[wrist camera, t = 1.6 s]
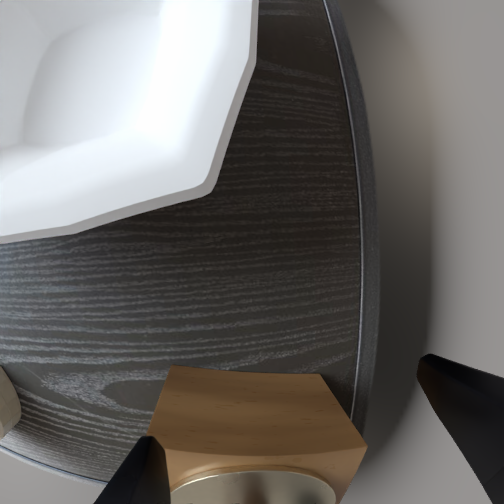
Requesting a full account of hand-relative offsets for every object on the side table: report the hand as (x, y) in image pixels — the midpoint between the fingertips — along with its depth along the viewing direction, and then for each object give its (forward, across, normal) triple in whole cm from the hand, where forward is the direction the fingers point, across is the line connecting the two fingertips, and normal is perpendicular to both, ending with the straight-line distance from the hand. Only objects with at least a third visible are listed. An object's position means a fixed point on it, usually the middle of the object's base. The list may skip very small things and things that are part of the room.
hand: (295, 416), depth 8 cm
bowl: (+16, +8, -17) cm, 25 cm away
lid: (0, +4, +10) cm, 10 cm away
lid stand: (+9, +4, +12) cm, 15 cm away
